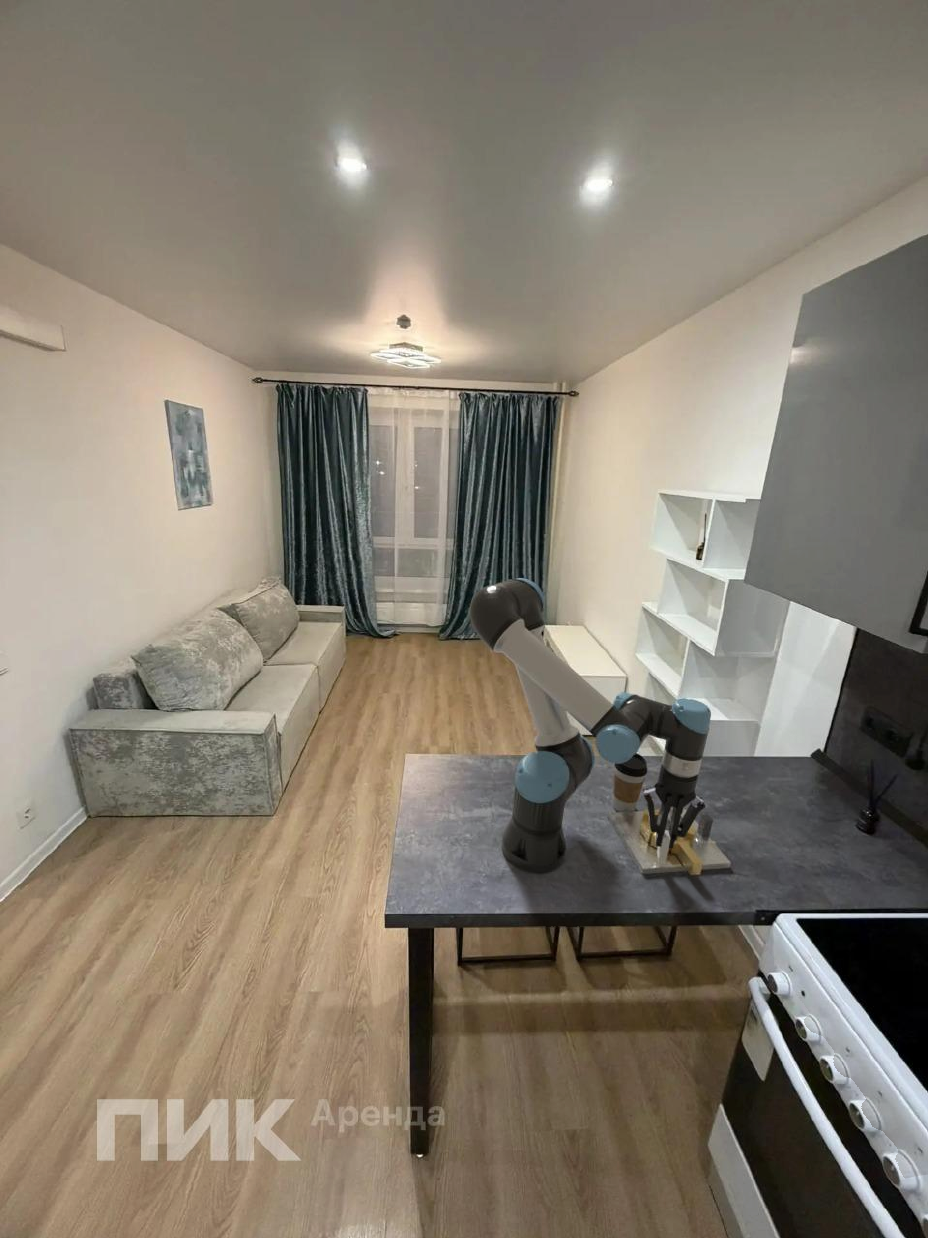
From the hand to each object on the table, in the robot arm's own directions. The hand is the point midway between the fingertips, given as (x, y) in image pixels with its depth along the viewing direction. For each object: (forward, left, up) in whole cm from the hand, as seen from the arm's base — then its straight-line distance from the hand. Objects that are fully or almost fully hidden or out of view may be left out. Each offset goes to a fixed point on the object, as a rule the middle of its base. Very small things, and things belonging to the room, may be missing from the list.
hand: (661, 857), depth 115 cm
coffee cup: (+1, +21, -3) cm, 22 cm away
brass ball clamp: (+6, +5, -1) cm, 8 cm away
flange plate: (+6, +8, -3) cm, 10 cm away
